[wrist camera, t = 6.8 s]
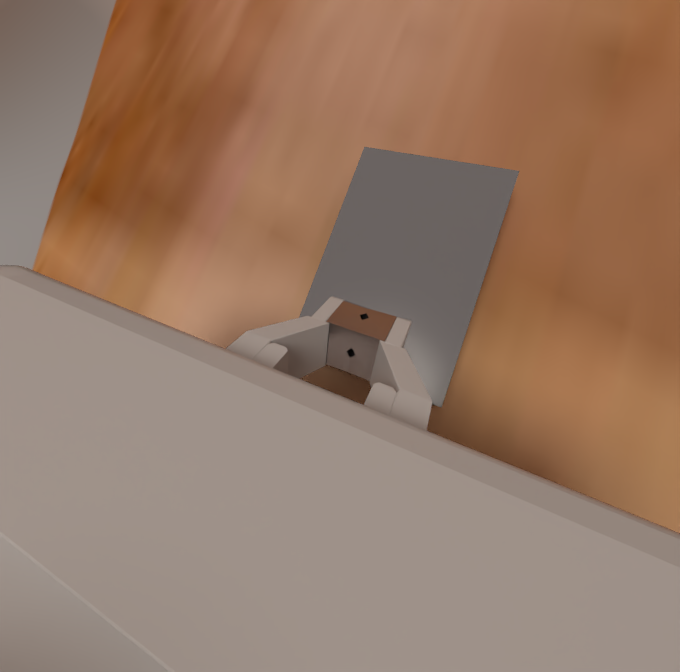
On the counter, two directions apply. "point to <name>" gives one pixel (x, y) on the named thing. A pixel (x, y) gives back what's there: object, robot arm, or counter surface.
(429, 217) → the slate tile
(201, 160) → the counter surface
